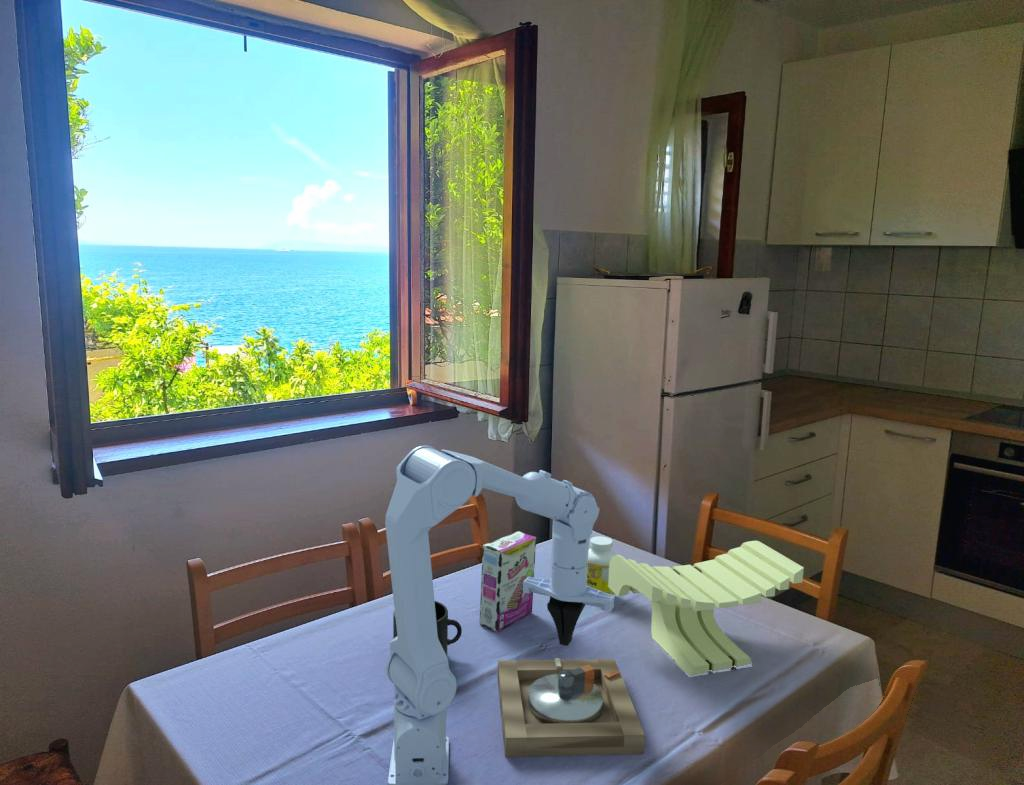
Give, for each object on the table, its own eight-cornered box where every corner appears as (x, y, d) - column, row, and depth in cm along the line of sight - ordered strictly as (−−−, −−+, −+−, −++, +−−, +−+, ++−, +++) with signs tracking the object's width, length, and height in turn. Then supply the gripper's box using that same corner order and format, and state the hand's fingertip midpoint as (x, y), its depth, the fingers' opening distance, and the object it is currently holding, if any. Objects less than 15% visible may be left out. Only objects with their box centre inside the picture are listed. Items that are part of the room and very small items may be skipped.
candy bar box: (498, 634, 134) (500, 552, 131) (478, 625, 137) (480, 544, 135) (534, 613, 143) (537, 535, 140) (515, 605, 146) (517, 529, 143)
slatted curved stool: (740, 618, 143) (748, 534, 140) (793, 660, 128) (803, 567, 125) (605, 637, 134) (610, 548, 131) (645, 685, 119) (652, 585, 116)
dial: (555, 736, 103) (556, 705, 102) (514, 694, 113) (515, 665, 112) (617, 713, 109) (619, 683, 108) (573, 675, 119) (575, 647, 118)
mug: (465, 670, 122) (466, 621, 120) (395, 676, 119) (395, 627, 118) (457, 641, 131) (458, 596, 129) (391, 647, 128) (391, 601, 127)
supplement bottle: (576, 593, 152) (579, 536, 150) (603, 588, 155) (606, 532, 153) (593, 607, 146) (596, 548, 144) (620, 601, 149) (623, 543, 147)
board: (643, 753, 102) (645, 731, 102) (505, 757, 101) (505, 734, 100) (613, 675, 122) (614, 656, 121) (497, 676, 120) (498, 657, 120)
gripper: (621, 561, 111) (616, 641, 114) (535, 544, 117) (532, 621, 119) (609, 578, 105) (604, 662, 107) (518, 559, 111) (516, 640, 113)
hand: (565, 642), depth 113 cm, fingers closed
